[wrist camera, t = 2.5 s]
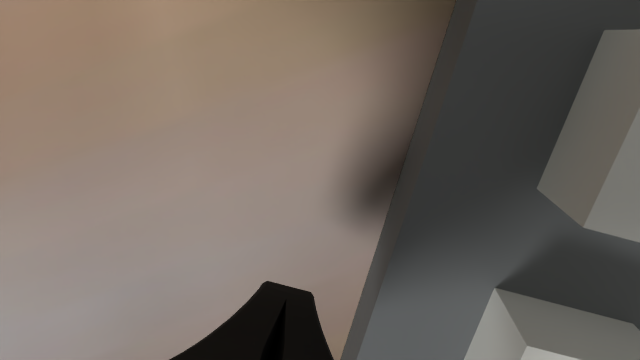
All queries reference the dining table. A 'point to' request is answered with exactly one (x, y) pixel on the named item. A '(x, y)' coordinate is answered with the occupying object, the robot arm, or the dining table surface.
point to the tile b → (602, 143)
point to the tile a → (549, 332)
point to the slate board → (492, 186)
